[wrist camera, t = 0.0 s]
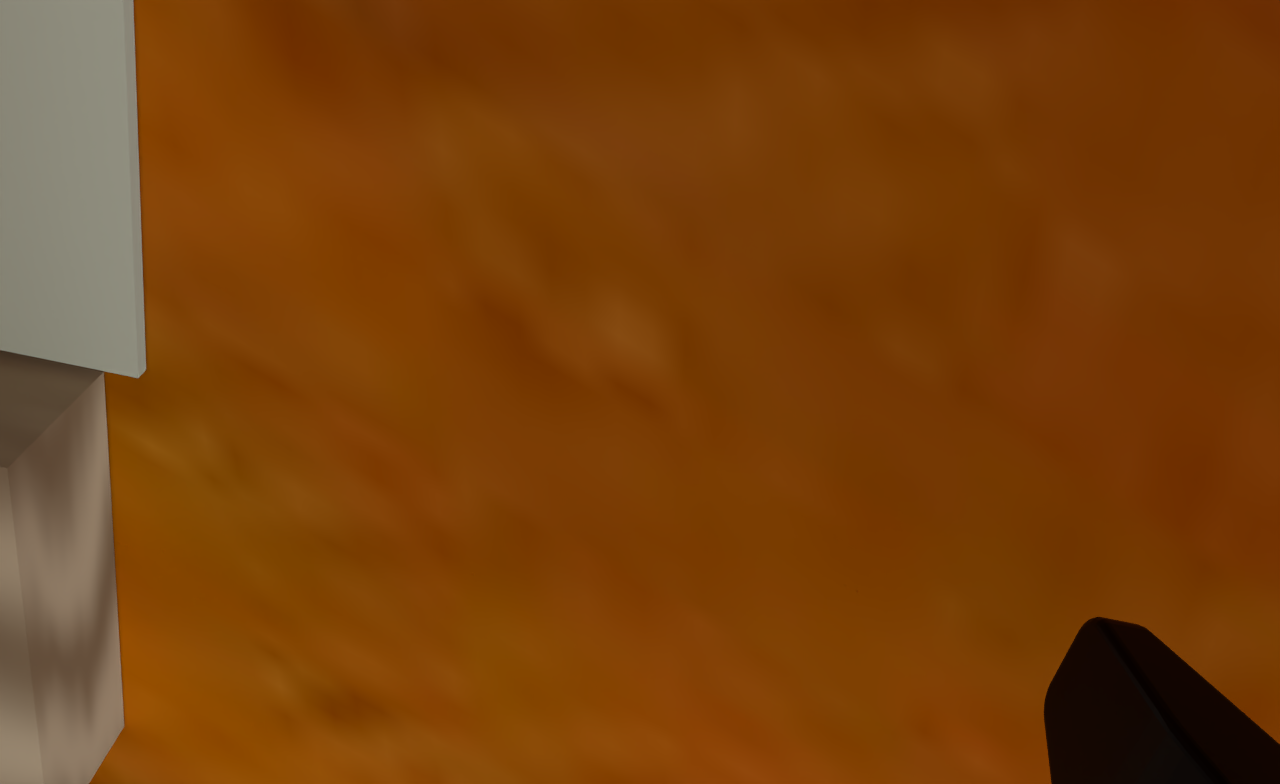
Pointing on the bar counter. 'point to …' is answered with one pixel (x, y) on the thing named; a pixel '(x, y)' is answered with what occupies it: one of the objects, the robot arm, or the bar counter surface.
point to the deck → (56, 575)
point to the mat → (70, 185)
